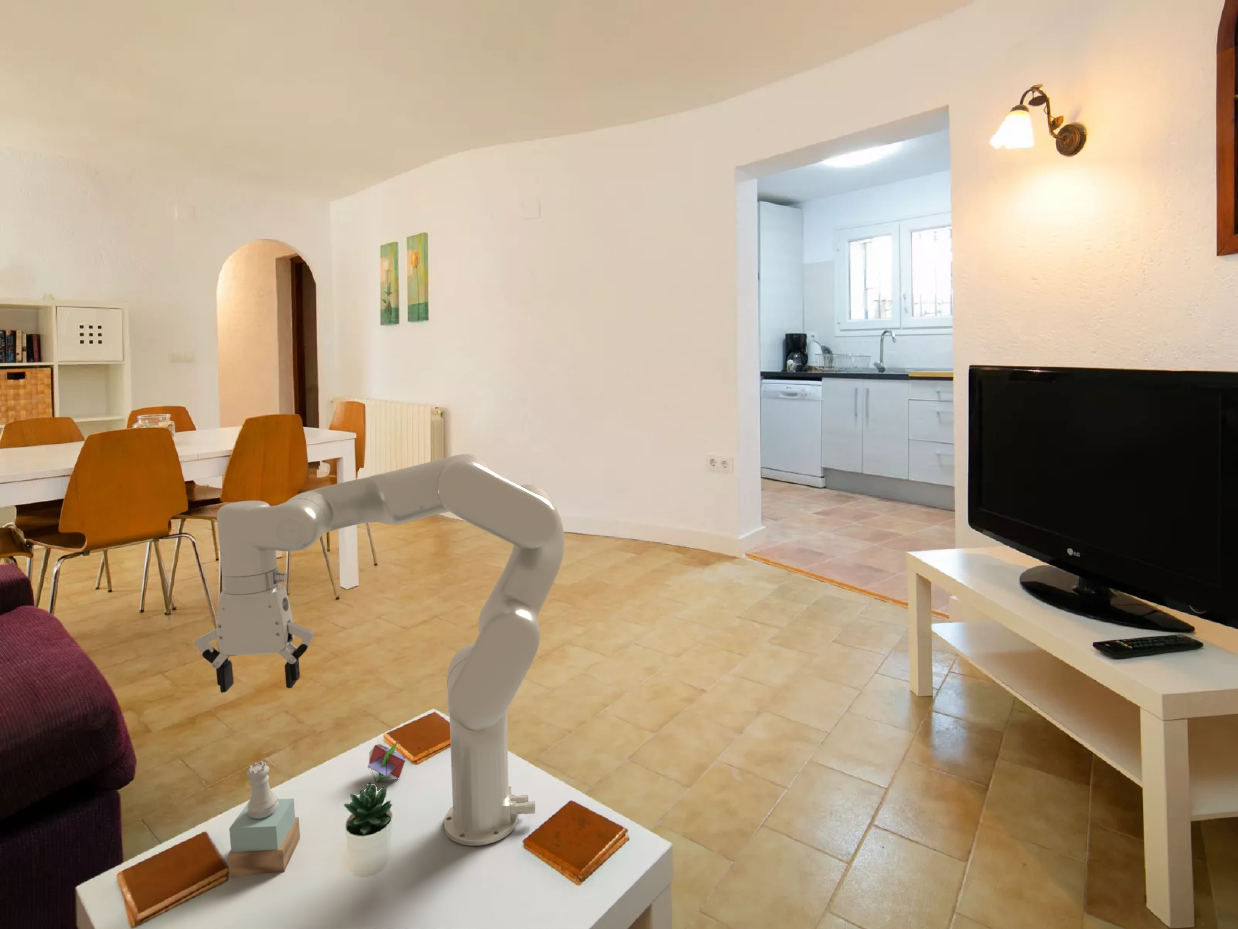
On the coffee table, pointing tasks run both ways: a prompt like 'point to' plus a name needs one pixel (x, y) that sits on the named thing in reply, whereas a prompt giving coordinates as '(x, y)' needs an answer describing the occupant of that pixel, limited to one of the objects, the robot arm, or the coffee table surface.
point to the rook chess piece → (260, 792)
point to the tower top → (262, 828)
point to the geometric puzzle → (386, 761)
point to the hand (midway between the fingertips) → (259, 686)
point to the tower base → (265, 857)
